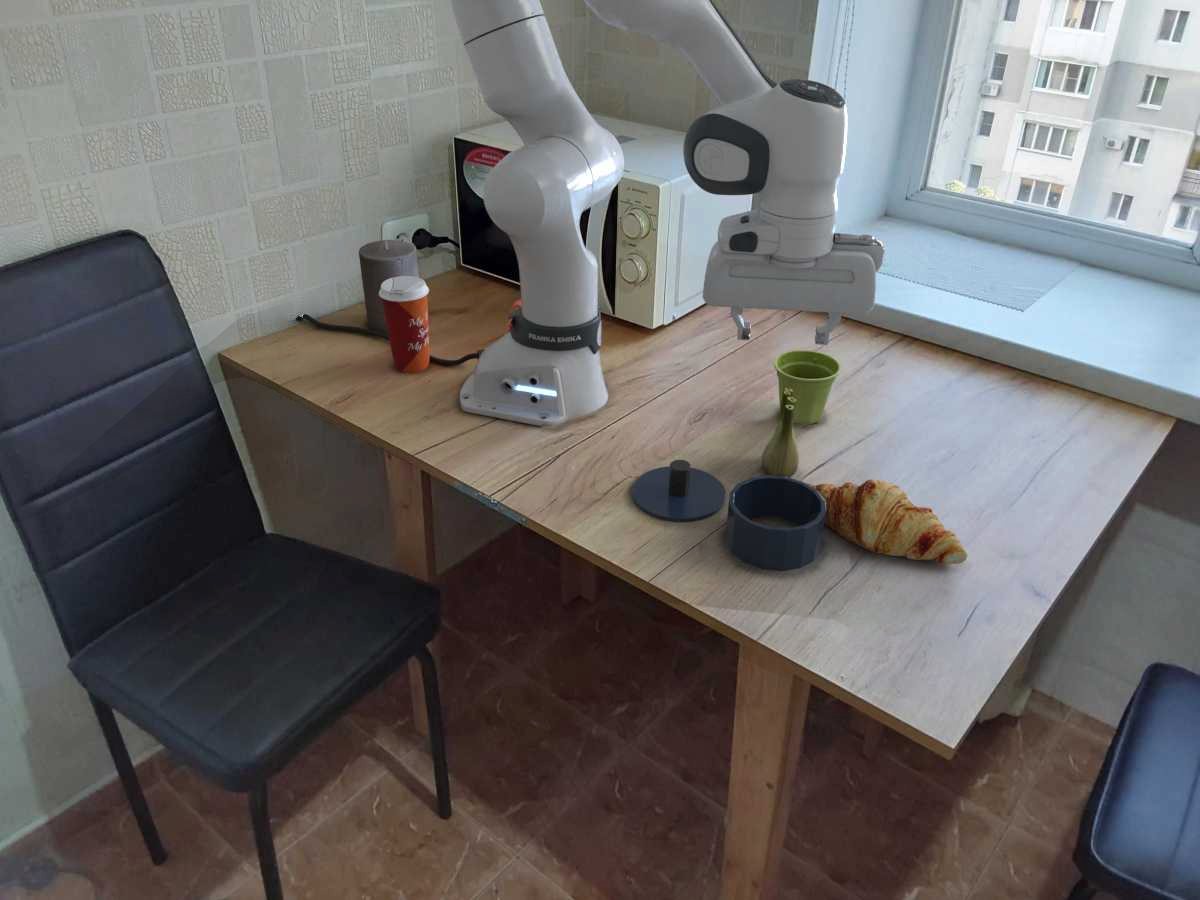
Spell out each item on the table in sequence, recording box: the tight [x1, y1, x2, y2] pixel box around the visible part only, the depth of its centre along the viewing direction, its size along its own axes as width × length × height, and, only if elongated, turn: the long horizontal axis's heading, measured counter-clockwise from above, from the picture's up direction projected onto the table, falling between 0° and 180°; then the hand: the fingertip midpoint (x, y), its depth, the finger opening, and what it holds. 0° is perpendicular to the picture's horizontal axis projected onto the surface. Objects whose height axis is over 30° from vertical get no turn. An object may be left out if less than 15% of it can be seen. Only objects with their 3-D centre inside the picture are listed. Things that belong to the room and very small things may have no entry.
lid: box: [631, 459, 727, 523], centre depth 123 cm, size 12×12×5 cm
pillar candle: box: [358, 239, 420, 335], centre depth 166 cm, size 10×10×15 cm
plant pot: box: [773, 349, 842, 425], centre depth 140 cm, size 9×9×9 cm
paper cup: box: [379, 276, 430, 374], centre depth 152 cm, size 8×8×14 cm
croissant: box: [806, 479, 968, 565], centre depth 116 cm, size 21×10×8 cm, turn 53°
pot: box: [724, 474, 826, 572], centre depth 114 cm, size 11×11×6 cm
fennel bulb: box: [760, 388, 800, 478], centre depth 126 cm, size 6×5×12 cm
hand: (782, 340), depth 118 cm, fingers open, 8 cm apart
